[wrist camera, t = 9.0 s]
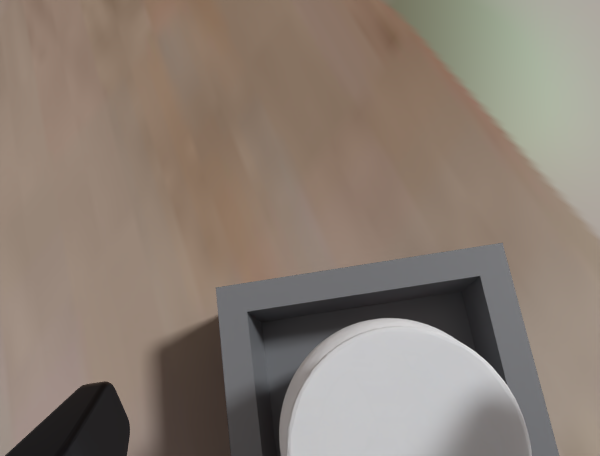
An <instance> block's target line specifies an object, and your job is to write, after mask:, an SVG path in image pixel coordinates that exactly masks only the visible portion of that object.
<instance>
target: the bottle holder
mask: <svg viewBox="0 0 600 456" xmlns="http://www.w3.org/2000/svg"><path fill="white" fill-rule="evenodd" d="M216 294H217V305H218V317H219V328H220V339H221V350H222V361H223V372H224V383H225V395H226V406H227V417H228V428H229V439H230V450H231V456H281V453H280V444H279V426H280V416H281V410H282V405H283V401H284V398H285V395H286V392H287V389H288V387H289V384H290V382H291V380H292V378H293V376H294V374H295V373H296V371H297V370H298V368H299V366H300V365H301V363H302V362H303V361H304V359H305V358H306V357H307V356H308V355H309V353H310V352H311V351H312V350H313V349H314V348H315V347H316V346H318V345H319V344H320V343H321V342H322V341H324V340H325V339H326V338H328V337H329V336H331V335H332V334H334V333H335V332H337V331H339V330H341V329H343V328H345V327H348V326H350V325H353V324H356V323H359V322H363V321H367V320H373V319H380V318H399V319H408V320H412V321H417V322H420V323H424V324H427V325H430V326H432V327H435V328H437V329H439V330H441V331H443V332H445V333H447V334H448V335H450V336H452V337H453V338H455V339H456V340H458V341H459V342H461V343H463V344H464V345H466V346H468V347H469V348H471V349H472V350H474V351H475V352H476V353H477V354H479V355H480V356H481V357H482V358H484V359H485V360H486V361H487V362H488V363H489V364H490V365H491V366H492V367H493V368H494V370H495V371H496V372H497V373H498V374H499V375H500V377H501V378H502V379H503V380H504V382H505V383H506V384H507V386H508V387H509V389H510V391H511V392H512V394H513V396H514V397H515V399H516V401H517V403H518V405H519V408H520V410H521V413H522V415H523V417H524V421H525V424H526V427H527V430H528V435H529V439H530V444H531V450H532V456H559V453H558V449H557V445H556V442H555V438H554V434H553V430H552V427H551V423H550V419H549V415H548V412H547V408H546V404H545V400H544V397H543V393H542V389H541V385H540V382H539V378H538V374H537V371H536V367H535V363H534V359H533V356H532V352H531V348H530V344H529V341H528V337H527V333H526V329H525V326H524V322H523V318H522V314H521V311H520V307H519V303H518V299H517V296H516V292H515V288H514V284H513V281H512V277H511V273H510V269H509V266H508V262H507V258H506V255H505V251H504V247H503V243H499V244H492V245H486V246H479V247H473V248H467V249H460V250H454V251H447V252H441V253H435V254H428V255H422V256H415V257H409V258H403V259H396V260H390V261H383V262H377V263H371V264H364V265H358V266H351V267H345V268H339V269H332V270H326V271H319V272H313V273H307V274H300V275H294V276H287V277H281V278H275V279H268V280H262V281H255V282H249V283H243V284H236V285H230V286H223V287H217V288H216Z"/></svg>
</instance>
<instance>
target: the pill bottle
mask: <svg viewBox="0 0 600 456" xmlns="http://www.w3.org/2000/svg"><path fill="white" fill-rule="evenodd" d="M279 444H280V453H281V456H532V450H531V444H530V439H529V435H528V430H527V427H526V424H525V421H524V417H523V415H522V413H521V410H520V408H519V405H518V403H517V401H516V399H515V397H514V396H513V394H512V392H511V391H510V389H509V387H508V386H507V384H506V383H505V382H504V380H503V379H502V378H501V377H500V375H499V374H498V373H497V372H496V371H495V370H494V368H493V367H492V366H491V365H490V364H489V363H488V362H487V361H486V360H485V359H484V358H482V357H481V356H480V355H479V354H477V353H476V352H475V351H474V350H472V349H471V348H469V347H468V346H466V345H464V344H463V343H461V342H459V341H458V340H456V339H455V338H453V337H452V336H450V335H448V334H447V333H445V332H443V331H441V330H439V329H437V328H435V327H432V326H430V325H427V324H424V323H420V322H417V321H412V320H408V319H399V318H380V319H373V320H367V321H363V322H359V323H356V324H353V325H350V326H348V327H345V328H343V329H341V330H339V331H337V332H335V333H334V334H332V335H331V336H329V337H328V338H326V339H325V340H324V341H322V342H321V343H320V344H319V345H318V346H316V347H315V348H314V349H313V350H312V351H311V352H310V353H309V355H308V356H307V357H306V358H305V359H304V361H303V362H302V363H301V365H300V366H299V368H298V370H297V371H296V373H295V374H294V376H293V378H292V380H291V382H290V384H289V387H288V389H287V392H286V395H285V398H284V401H283V405H282V410H281V416H280V426H279Z"/></svg>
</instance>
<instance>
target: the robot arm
mask: <svg viewBox="0 0 600 456" xmlns="http://www.w3.org/2000/svg"><path fill="white" fill-rule="evenodd" d="M129 435H130V426H129V420H128V417H127V415H126V413H125V410H124V408H123V406H122V404H121V401H120V399H119V397H118V395H117V392H116V390H115V388H114V386H113V385H112V384H111V383H109V382H98V383H92V384H86V385H83V386H81V387H80V388H79V389H77V390H76V391H75V392H74V393H73V394H72V395H71V396H70V397H69V398H67V399H66V400H65V401H64V402H63V403H62V404H61V405H60V406H59V407H58V408H57V409H55V410H54V411H53V412H52V413H51V414H50V415H49V416H48V417H47V418H46V419H45V420H43V421H42V422H41V423H40V424H39V425H38V426H37V427H36V428H35V429H34V430H33V431H31V432H30V433H29V434H28V435H27V436H26V437H25V438H24V439H23V440H22V441H21V442H19V443H18V444H17V445H16V446H15V447H14V448H13V449H12V450H11V451H10V452H9V453H7V454H6V455H5V456H127V450H128V443H129Z"/></svg>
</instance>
